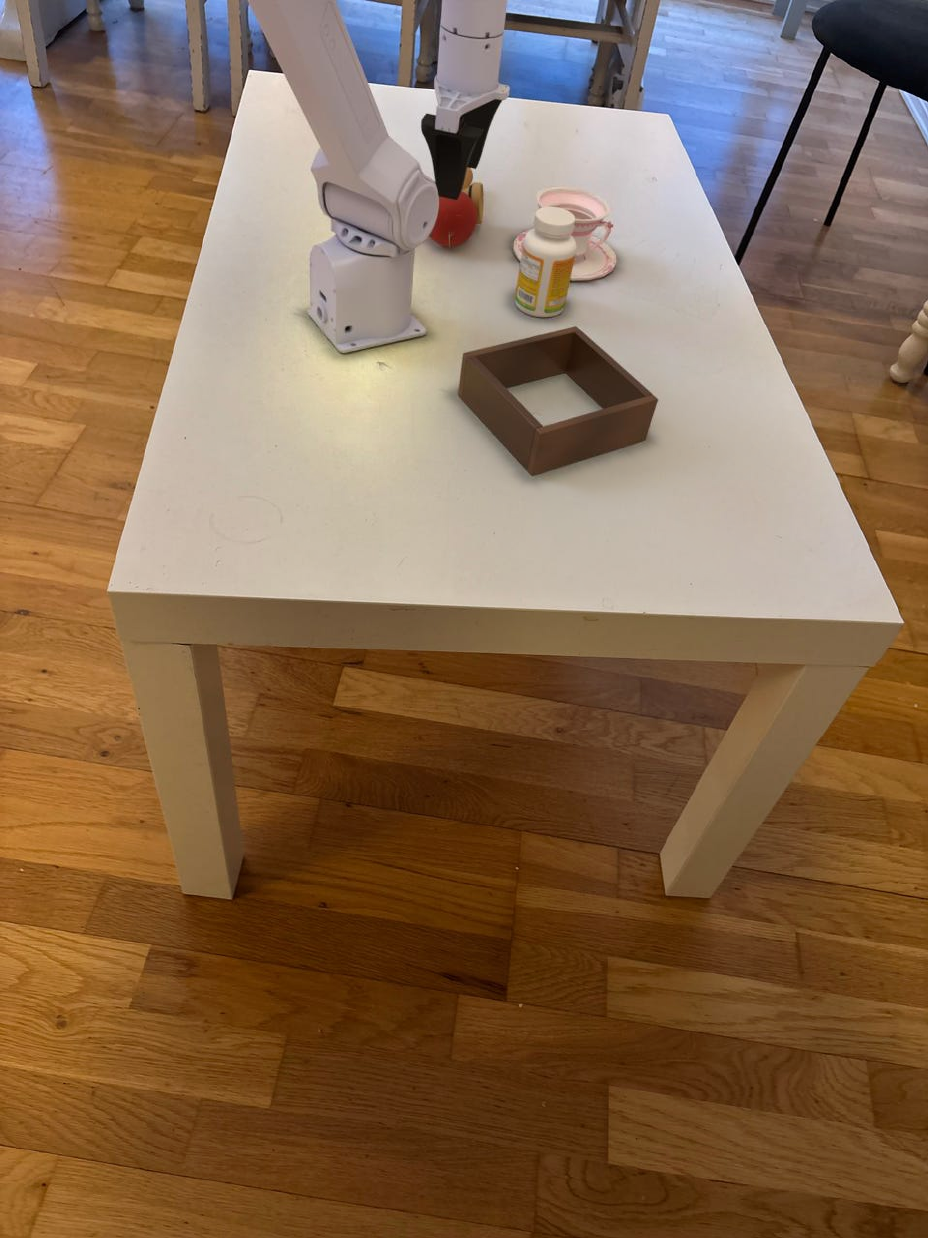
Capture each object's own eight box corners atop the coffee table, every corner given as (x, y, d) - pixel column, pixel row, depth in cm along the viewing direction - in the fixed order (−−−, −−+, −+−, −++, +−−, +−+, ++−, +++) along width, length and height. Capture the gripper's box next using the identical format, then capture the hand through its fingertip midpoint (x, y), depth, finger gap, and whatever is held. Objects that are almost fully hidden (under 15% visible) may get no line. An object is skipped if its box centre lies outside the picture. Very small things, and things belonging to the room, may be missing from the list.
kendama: (421, 193, 114) (405, 240, 101) (435, 140, 110) (420, 182, 97) (480, 214, 115) (472, 263, 102) (496, 162, 111) (490, 206, 98)
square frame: (531, 476, 78) (540, 433, 75) (457, 395, 85) (462, 352, 81) (645, 440, 83) (658, 399, 80) (567, 366, 90) (576, 325, 86)
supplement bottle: (564, 296, 99) (582, 207, 91) (563, 322, 95) (582, 231, 88) (515, 288, 99) (529, 198, 91) (512, 314, 95) (527, 223, 88)
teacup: (493, 258, 103) (501, 203, 98) (540, 221, 110) (549, 168, 105) (589, 294, 99) (602, 239, 95) (631, 253, 107) (644, 201, 102)
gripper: (497, 61, 77) (479, 220, 87) (531, 12, 86) (511, 160, 96) (416, 45, 77) (408, 204, 87) (459, -2, 87) (447, 147, 97)
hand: (457, 180), depth 92 cm, fingers open, 7 cm apart
